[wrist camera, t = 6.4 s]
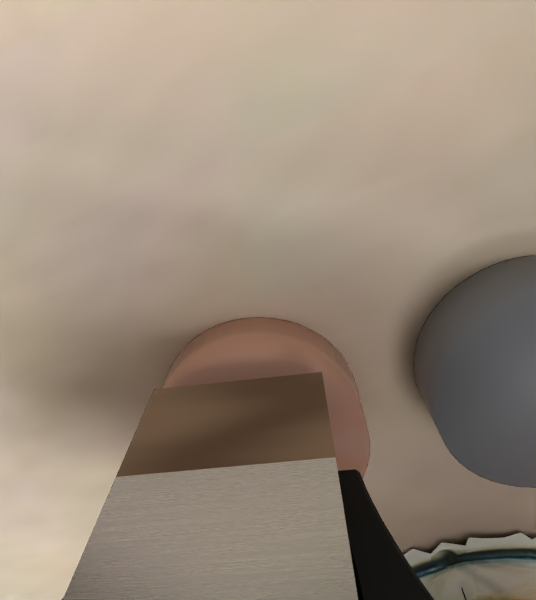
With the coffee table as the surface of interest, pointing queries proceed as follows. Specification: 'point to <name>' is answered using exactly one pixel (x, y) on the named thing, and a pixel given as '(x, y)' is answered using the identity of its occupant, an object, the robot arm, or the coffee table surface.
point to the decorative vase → (479, 569)
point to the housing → (224, 500)
